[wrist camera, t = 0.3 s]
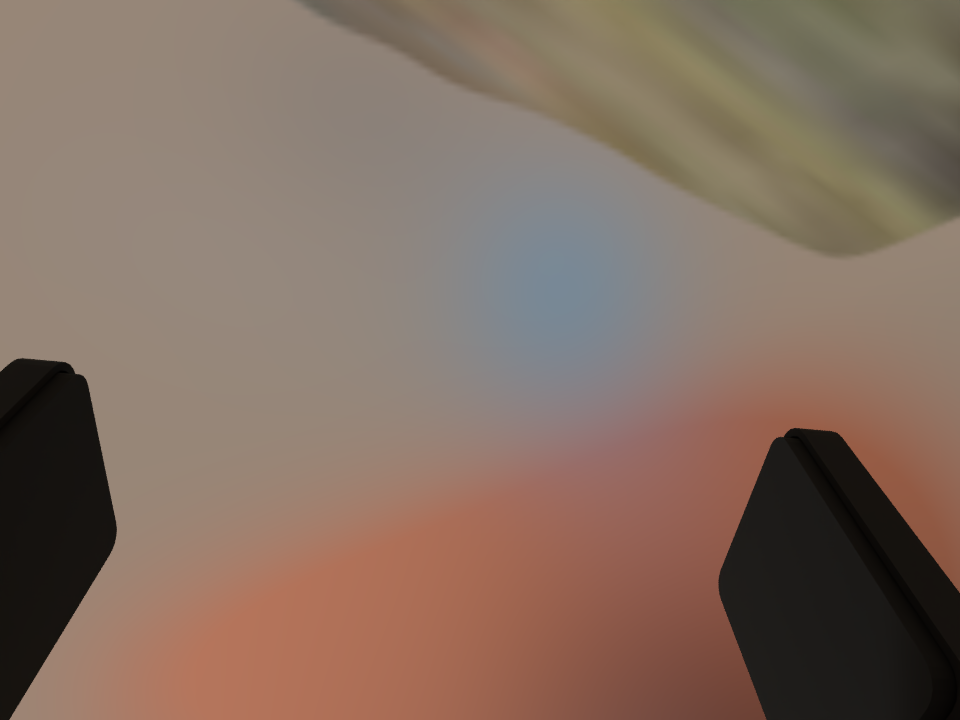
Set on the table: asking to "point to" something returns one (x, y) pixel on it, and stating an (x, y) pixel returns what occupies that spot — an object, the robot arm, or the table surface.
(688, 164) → the table surface
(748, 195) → the table surface
